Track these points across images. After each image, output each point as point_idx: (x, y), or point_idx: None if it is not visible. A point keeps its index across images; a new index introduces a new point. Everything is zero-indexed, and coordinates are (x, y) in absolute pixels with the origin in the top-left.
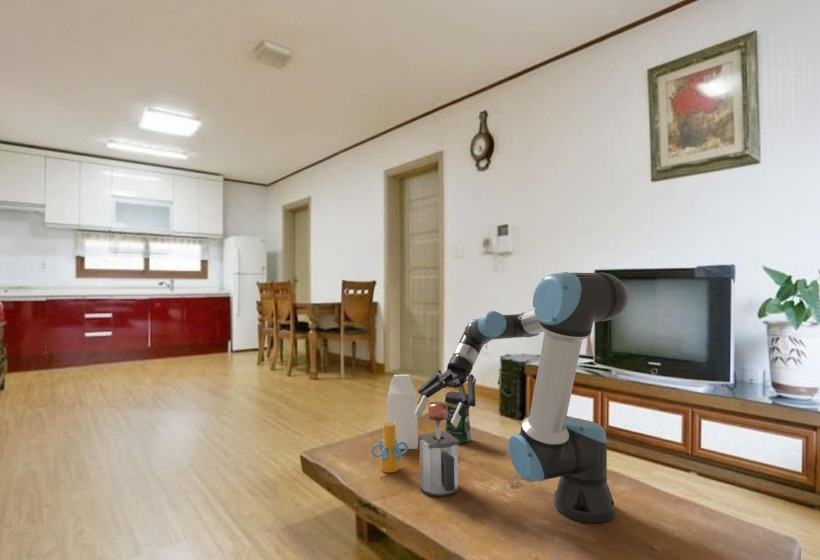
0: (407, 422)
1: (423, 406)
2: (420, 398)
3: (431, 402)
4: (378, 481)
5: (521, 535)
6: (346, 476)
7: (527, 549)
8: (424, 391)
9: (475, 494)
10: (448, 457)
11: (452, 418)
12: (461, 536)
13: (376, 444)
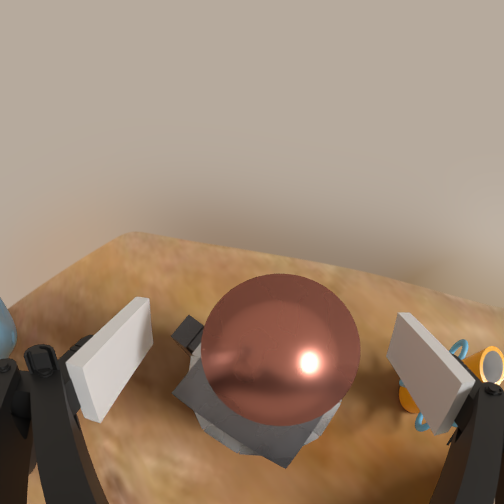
0: (494, 500)
1: (417, 377)
2: (471, 375)
3: (355, 354)
4: (392, 332)
5: (60, 313)
6: (445, 305)
7: (52, 285)
8: (495, 400)
9: (169, 414)
10: (188, 330)
11: (138, 307)
12: (136, 264)
13: (467, 347)
